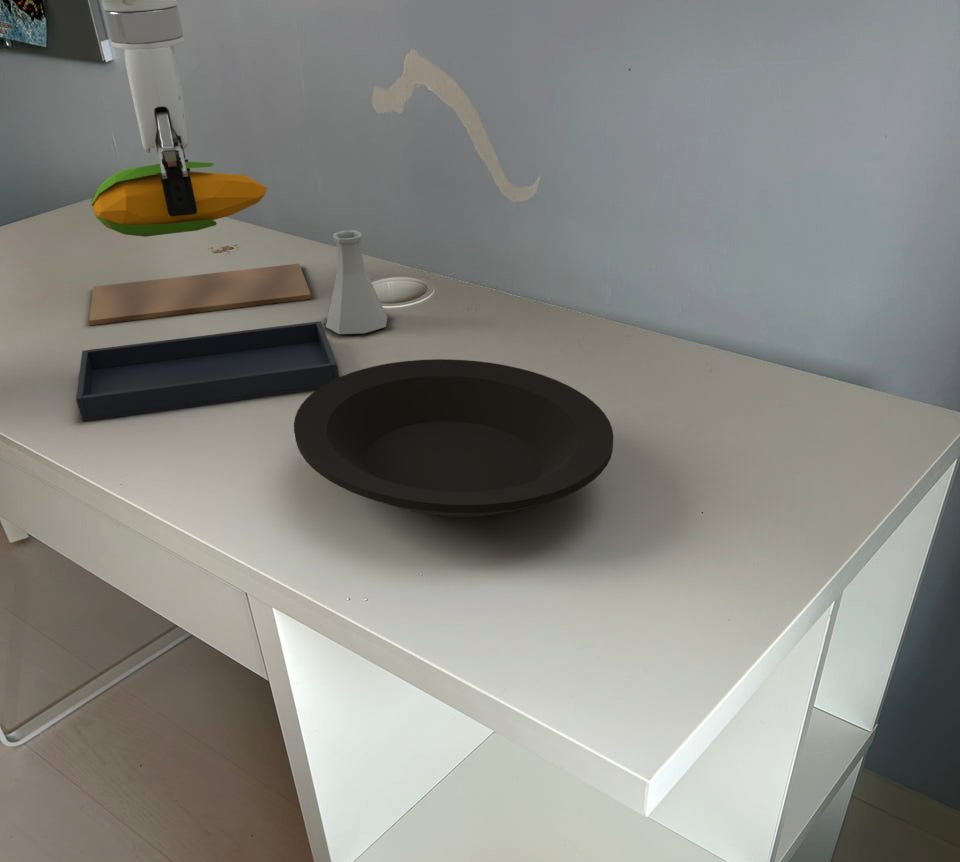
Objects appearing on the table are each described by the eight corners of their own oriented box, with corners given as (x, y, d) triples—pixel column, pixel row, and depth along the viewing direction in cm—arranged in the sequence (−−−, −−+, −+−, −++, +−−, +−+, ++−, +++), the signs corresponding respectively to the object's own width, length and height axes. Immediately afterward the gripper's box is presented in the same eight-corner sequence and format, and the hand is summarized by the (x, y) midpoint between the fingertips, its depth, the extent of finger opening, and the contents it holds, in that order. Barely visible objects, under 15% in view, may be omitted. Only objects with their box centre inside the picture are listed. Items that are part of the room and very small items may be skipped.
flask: (319, 318, 115) (307, 229, 108) (379, 309, 116) (371, 221, 110) (333, 340, 109) (321, 248, 103) (395, 330, 111) (388, 239, 105)
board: (90, 325, 115) (88, 320, 115) (94, 291, 124) (93, 286, 124) (311, 299, 120) (310, 294, 119) (299, 267, 129) (299, 263, 128)
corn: (81, 161, 112) (255, 142, 117) (99, 229, 117) (265, 208, 122) (84, 181, 107) (266, 160, 112) (103, 251, 112) (276, 229, 117)
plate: (241, 484, 85) (229, 424, 82) (435, 391, 98) (432, 336, 95) (479, 611, 70) (476, 546, 66) (669, 481, 83) (676, 421, 80)
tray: (82, 421, 95) (75, 398, 94) (88, 372, 105) (82, 350, 103) (339, 386, 100) (337, 364, 98) (323, 342, 109) (320, 320, 108)
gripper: (111, 20, 110) (149, 189, 121) (106, 42, 97) (149, 230, 108) (179, 15, 111) (211, 183, 123) (183, 37, 98) (219, 223, 109)
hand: (182, 204), depth 115 cm, fingers closed on corn, 6 cm apart
